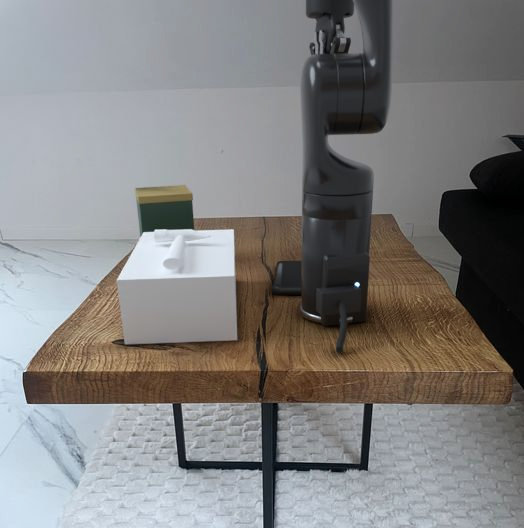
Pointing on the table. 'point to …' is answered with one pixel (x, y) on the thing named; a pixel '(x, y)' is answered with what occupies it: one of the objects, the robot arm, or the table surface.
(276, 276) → the phone
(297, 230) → the table surface
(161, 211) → the tea tin
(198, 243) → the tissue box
